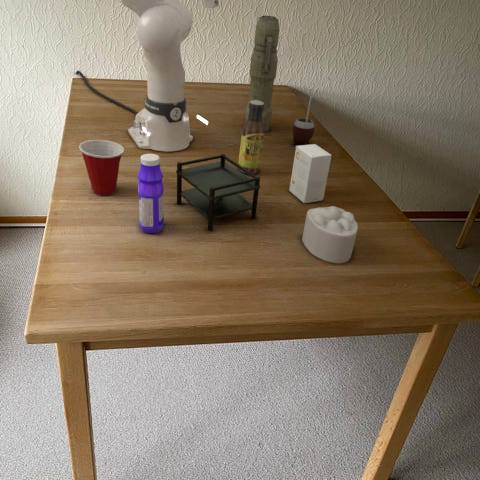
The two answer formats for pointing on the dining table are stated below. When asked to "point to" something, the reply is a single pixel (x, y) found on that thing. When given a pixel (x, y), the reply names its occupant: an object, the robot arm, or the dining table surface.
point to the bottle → (150, 194)
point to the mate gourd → (303, 129)
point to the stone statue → (264, 66)
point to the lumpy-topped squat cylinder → (330, 233)
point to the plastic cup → (102, 164)
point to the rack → (217, 188)
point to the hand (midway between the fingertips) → (212, 7)
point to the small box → (310, 173)
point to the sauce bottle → (252, 138)
